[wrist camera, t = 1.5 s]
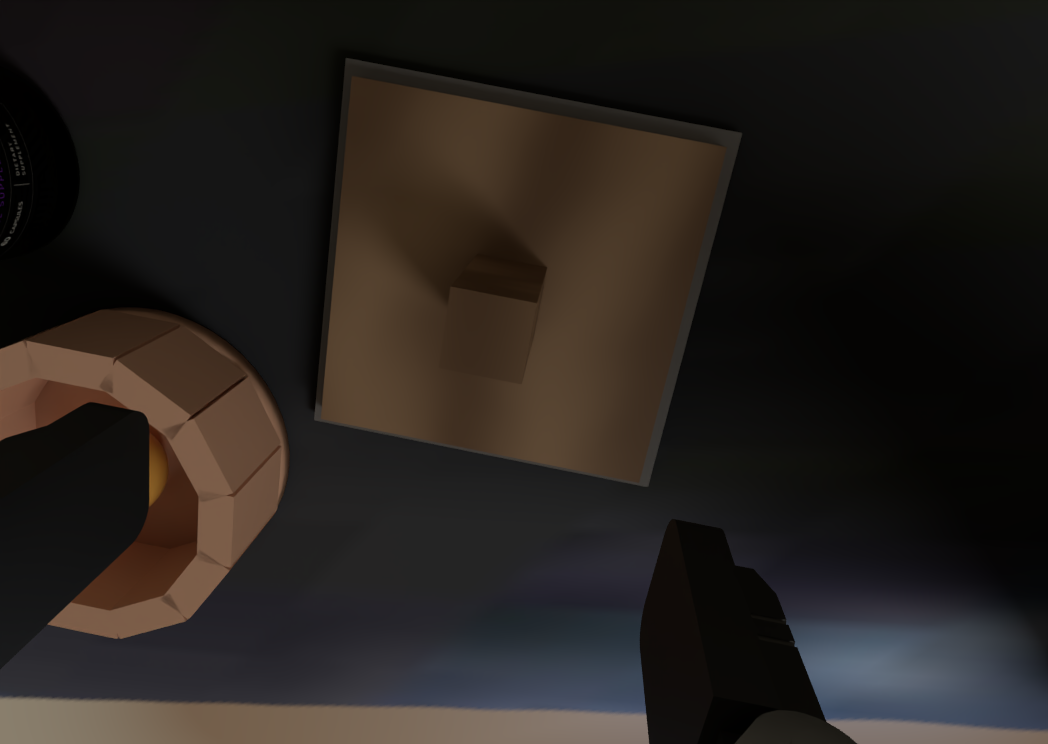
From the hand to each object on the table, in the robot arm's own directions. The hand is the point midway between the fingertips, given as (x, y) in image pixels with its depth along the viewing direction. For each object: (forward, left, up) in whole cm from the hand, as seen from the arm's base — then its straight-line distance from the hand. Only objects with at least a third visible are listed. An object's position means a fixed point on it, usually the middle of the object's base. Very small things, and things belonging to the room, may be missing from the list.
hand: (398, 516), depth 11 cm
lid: (0, 0, -16) cm, 16 cm away
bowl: (+13, +9, -16) cm, 23 cm away
